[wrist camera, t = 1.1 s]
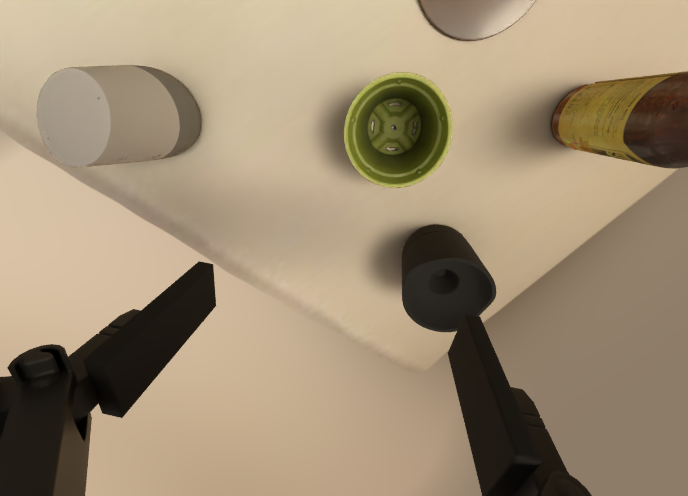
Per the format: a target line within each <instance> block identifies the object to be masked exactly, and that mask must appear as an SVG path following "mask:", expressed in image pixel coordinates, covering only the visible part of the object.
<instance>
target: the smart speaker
mask: <svg viewBox="0 0 688 496" xmlns="http://www.w3.org/2000/svg"><path fill="white" fill-rule="evenodd" d="M37 122H38V127H39V131H40V134H41V137H42V140H43V142H44V144H45V146H46V147H47V149H48V150H49V152H50V153H51V154H52V155H53V156H54V157H55V158H56V159H57V160H58V161H60V162H61V163H63V164H65V165H67V166H70V167H90V166H100V165H110V164H120V163H129V162H139V161H149V160H157V159H163V158H168V157H172V156H175V155H178V154H180V153H182V152H184V151H186V150H187V149H189V148H190V147H191V146H192V145H193V144H194V142H195V141H196V139H197V137H198V135H199V132H200V126H201V118H200V112H199V109H198V106H197V103H196V101H195V99H194V98H193V96H192V94H191V93H190V92H189V90H188V89H187V88H186V87H185V86H184V85H183V84H182V83H181V82H180V81H179V80H177V79H176V78H174V77H173V76H171V75H169V74H168V73H165V72H163V71H161V70H158V69H155V68H151V67H145V66H133V65H119V66H95V67H72V68H64V69H61V70H59V71H57V72H55V73H54V74H52V75H51V76H50V77H49V78H48V79H47V81H46V82H45V84H44V85H43V87H42V89H41V91H40V94H39V98H38V103H37Z"/></svg>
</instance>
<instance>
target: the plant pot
mask: <svg viewBox="0 0 688 496" xmlns="http://www.w3.org/2000/svg"><path fill="white" fill-rule="evenodd" d="M393 102H398V103H400V104H401V106H389V104H390V103H393ZM373 120H374V121H375V125H374V133H373V132H372V130H371V124H372V121H373ZM414 122H416V123H417V129H416V133H415V134H414V135H413V134H412V132H413V128H414ZM393 125H395V126H396V129H395V130H392V129H391V127H392V126H393ZM452 131H453V123H452V115H451V111H450V107H449V105H448V102H447V100H446V98H445V97H444V95H443V94H442V92H441V91H440V89H439V88H438V87H437V86H436V85H435V84H434V83H432V82H431V81H430V80H428V79H426V78H424V77H422V76H420V75H417V74H413V73H406V72H400V73H391V74H388V75H385V76H382V77H380V78H378V79H376V80H374V81H373V82H371V83H369V84H368V85H367V86H366V87H365V88H364V89H363V90H362V91H361V92H360V93H359V94H358V95H357V96H356V98H355V99H354V101H353V102H352V104H351V106H350V108H349V110H348V113H347V116H346V120H345V125H344V143H345V148H346V151H347V154H348V157H349V159H350V161H351V163H352V164H353V166H354V167H355V169H356V170H357V171H358V172H359V173H360V174H361V175H362V176H363V177H364V178H366V179H367V180H369V181H371V182H372V183H374V184H377V185H380V186H383V187H391V188H400V187H406V186H410V185H413V184H416V183H418V182H420V181H422V180H423V179H425V178H426V177H428V176H429V175H430V174H432V173H433V172H434V171H435V170H436V169H437V168H438V166H439V165H440V164H441V163H442V161H443V159H444V158H445V156H446V154H447V152H448V149H449V146H450V143H451V139H452ZM387 147H389V148H398V149H397V150H392V151H388V150H386V148H387Z"/></svg>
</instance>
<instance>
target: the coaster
mask: <svg viewBox="0 0 688 496" xmlns="http://www.w3.org/2000/svg"><path fill="white" fill-rule="evenodd" d="M535 1H536V0H419V2H420V4H421V7H422V9H423V11H424V13H425V15H426V17H427V18H428V19H429V21H430V22H431V23H432V24H433V25H434V26H435V27H436V28H437V29H438V30H439V31H441V32H442V33H443V34H445V35H447V36H449V37H451V38H455V39H458V40H465V41H474V40H481V39H485V38H488V37H491V36H494V35H496V34H498V33H500V32H502V31H503V30H505V29H507V28H508V27H510V26H511V25H513V24H514V23H515V22H516V21H518V20H519V19H520V18H521V17H522V16H523V15H524V14H525V13H526V12H527V11H528V10H529V9H530V8H531V6H532V5H533V4H534V3H535Z"/></svg>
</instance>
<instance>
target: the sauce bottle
mask: <svg viewBox="0 0 688 496" xmlns="http://www.w3.org/2000/svg"><path fill="white" fill-rule="evenodd" d="M552 130H553V134H554V136H555V137H556V138H557V140H559V141H560V143H562V144H564V145H566V146H568V147H570V148H573V149H576V150H581V151H585V152H590V153H595V154H600V155H604V156H608V157H614V158H618V159H623V160H628V161H633V162H638V163H642V164H647V165H652V166H658V167H663V168H683V167H688V72H678V73H670V74H661V75H653V76H644V77H635V78H626V79H618V80H610V81H601V82H596V83H595V84H590V85H584V86H581V87H579V88H577V89H576V90H574V91H572V92H571V93H570V94H568V95H567V97H566V98H564V100H562V101H561V103H560V104H559V105H558V107H557V108H556V111H555V113H554V116H553V120H552Z"/></svg>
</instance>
